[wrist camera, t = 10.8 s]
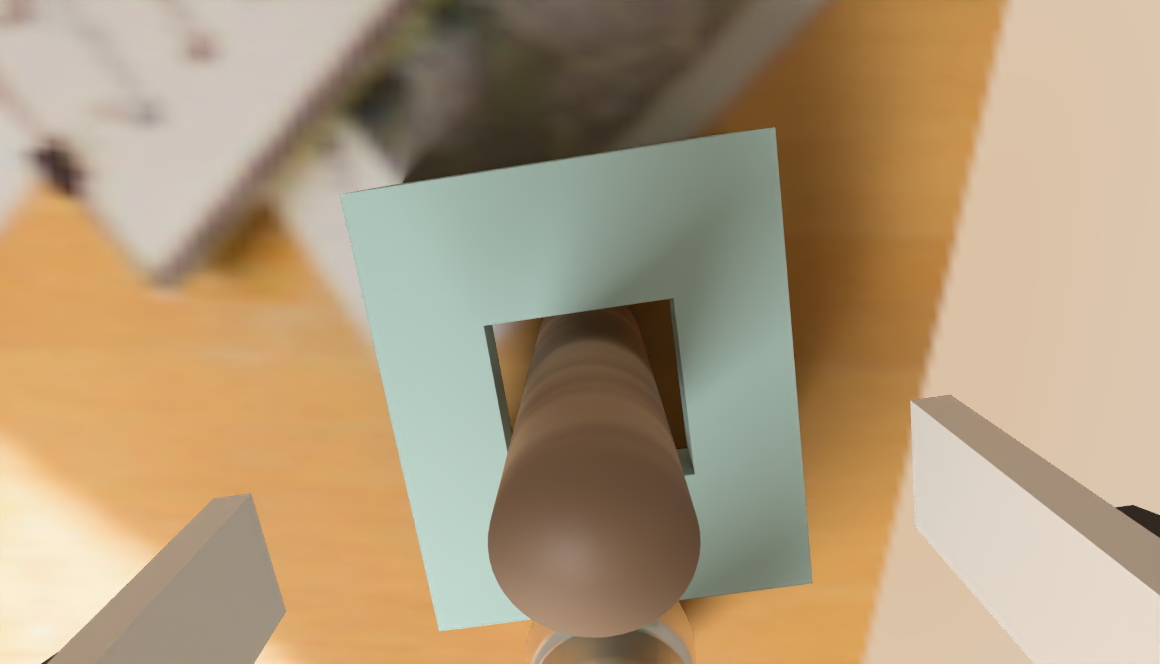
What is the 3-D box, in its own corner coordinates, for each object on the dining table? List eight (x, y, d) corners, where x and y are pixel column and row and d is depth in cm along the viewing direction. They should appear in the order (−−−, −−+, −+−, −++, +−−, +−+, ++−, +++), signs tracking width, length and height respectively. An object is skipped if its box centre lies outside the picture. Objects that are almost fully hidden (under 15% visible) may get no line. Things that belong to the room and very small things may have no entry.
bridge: (401, 183, 27) (339, 194, 20) (725, 133, 26) (775, 127, 19) (471, 522, 30) (439, 631, 23) (759, 483, 30) (812, 583, 23)
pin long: (530, 299, 28) (469, 462, 13) (633, 283, 28) (687, 431, 13) (546, 396, 29) (507, 649, 14) (646, 382, 28) (711, 623, 14)
